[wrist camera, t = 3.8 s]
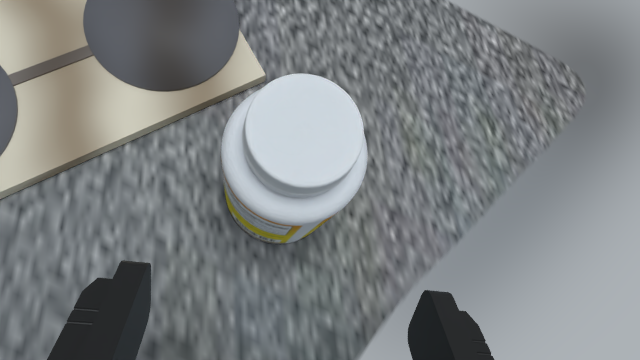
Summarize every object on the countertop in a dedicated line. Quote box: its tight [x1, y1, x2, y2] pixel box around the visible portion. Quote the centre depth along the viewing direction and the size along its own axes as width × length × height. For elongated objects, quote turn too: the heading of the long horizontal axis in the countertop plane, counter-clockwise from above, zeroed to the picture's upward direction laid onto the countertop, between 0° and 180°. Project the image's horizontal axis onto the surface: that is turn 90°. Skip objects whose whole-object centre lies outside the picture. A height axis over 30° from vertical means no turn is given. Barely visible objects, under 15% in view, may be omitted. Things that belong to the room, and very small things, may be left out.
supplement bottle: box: [221, 74, 367, 244], centre depth 20 cm, size 6×6×10 cm
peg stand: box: [0, 0, 266, 199], centre depth 19 cm, size 20×10×10 cm, turn 121°
